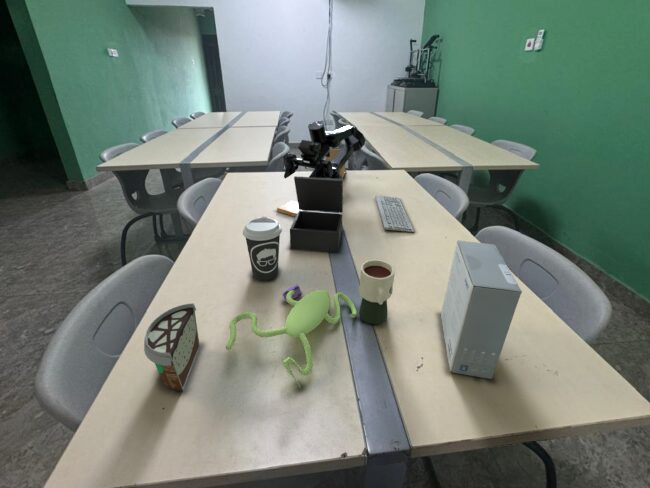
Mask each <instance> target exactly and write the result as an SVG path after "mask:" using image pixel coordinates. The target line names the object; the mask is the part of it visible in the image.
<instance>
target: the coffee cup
mask: <svg viewBox="0 0 650 488" xmlns="http://www.w3.org/2000/svg"><path fill="white" fill-rule="evenodd" d="M282 232H283V229H282V226H281V224H280V223H279V221H278V220H277V219H276V218H274V217H271V216H258V217H254V218H250V219H249V220H248V221H246V222H245V225H244V227H243V229H242V235H243V237H244V238H245V242H246V247H247V252H248V257H249V262H250V267H251V271H252V272H251V273H252V276H253V278H254V279H255V280H256V281H259V282H260V281H261V282H268V281H271V280H273V279H275V278H276V277H277V276H278V275H279V261H280V260H279V257H280V237H281V234H282Z"/></svg>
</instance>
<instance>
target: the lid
mask: <svg viewBox="0 0 650 488" xmlns="http://www.w3.org/2000/svg"><path fill="white" fill-rule="evenodd" d="M293 180H294V187H295V188H294V189H295V194H296V199H297V200H296V201H297V202H298V207H299V210H307V211H318V212H332V213H343V210H344V191H343V190H344V178H343V179H329V178H313V177H309V176H298V175H297V176H294V177H293ZM343 214H344V213H343Z"/></svg>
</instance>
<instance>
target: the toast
mask: <svg viewBox="0 0 650 488" xmlns="http://www.w3.org/2000/svg"><path fill="white" fill-rule="evenodd" d="M276 211H277V212H278V213H282V214H285V215H288V216H292V217H294V218H296V216H297V214H298V212H299V207H298V201H297V200H292V199H291V200H289V201H288V202H285V203H283V204H282V205H280V206H277V207H276ZM304 211H308V210H304Z"/></svg>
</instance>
